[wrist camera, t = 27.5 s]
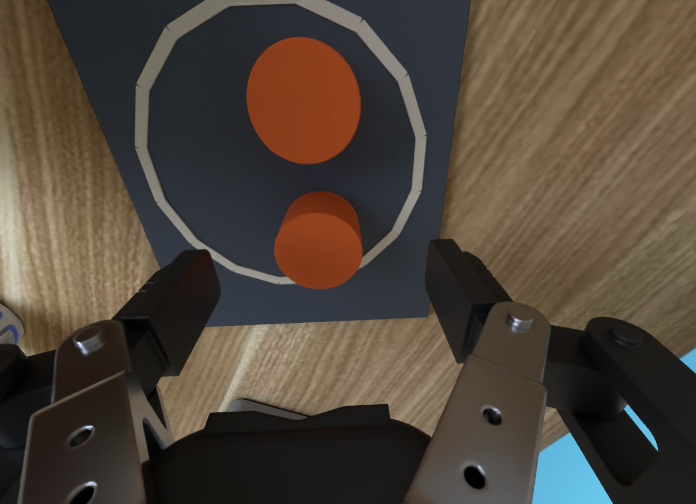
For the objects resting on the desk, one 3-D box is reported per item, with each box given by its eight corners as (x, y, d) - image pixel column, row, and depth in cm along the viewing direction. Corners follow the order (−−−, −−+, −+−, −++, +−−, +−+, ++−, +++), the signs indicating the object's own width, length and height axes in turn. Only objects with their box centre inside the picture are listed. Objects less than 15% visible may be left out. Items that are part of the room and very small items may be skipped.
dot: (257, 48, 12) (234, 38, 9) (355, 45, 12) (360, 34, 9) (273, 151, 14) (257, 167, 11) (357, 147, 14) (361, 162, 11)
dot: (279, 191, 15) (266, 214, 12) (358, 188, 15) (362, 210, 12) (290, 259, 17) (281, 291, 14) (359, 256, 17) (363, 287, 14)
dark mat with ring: (6, -127, 10) (-15, -140, 9) (484, -144, 10) (493, -158, 9) (189, 321, 20) (184, 329, 19) (425, 311, 20) (428, 318, 19)
